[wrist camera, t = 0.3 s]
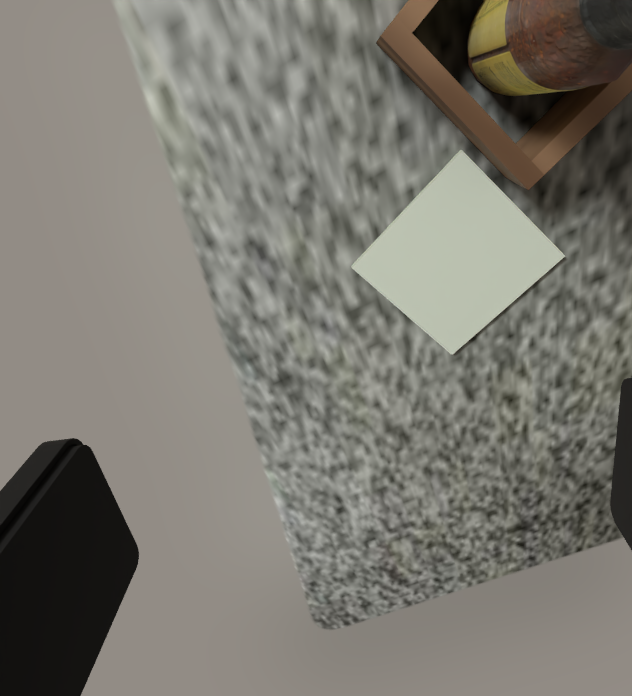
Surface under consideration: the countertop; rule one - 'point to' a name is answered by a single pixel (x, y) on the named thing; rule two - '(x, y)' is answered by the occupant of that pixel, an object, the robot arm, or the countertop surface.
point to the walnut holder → (455, 102)
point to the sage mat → (457, 255)
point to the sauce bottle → (549, 44)
